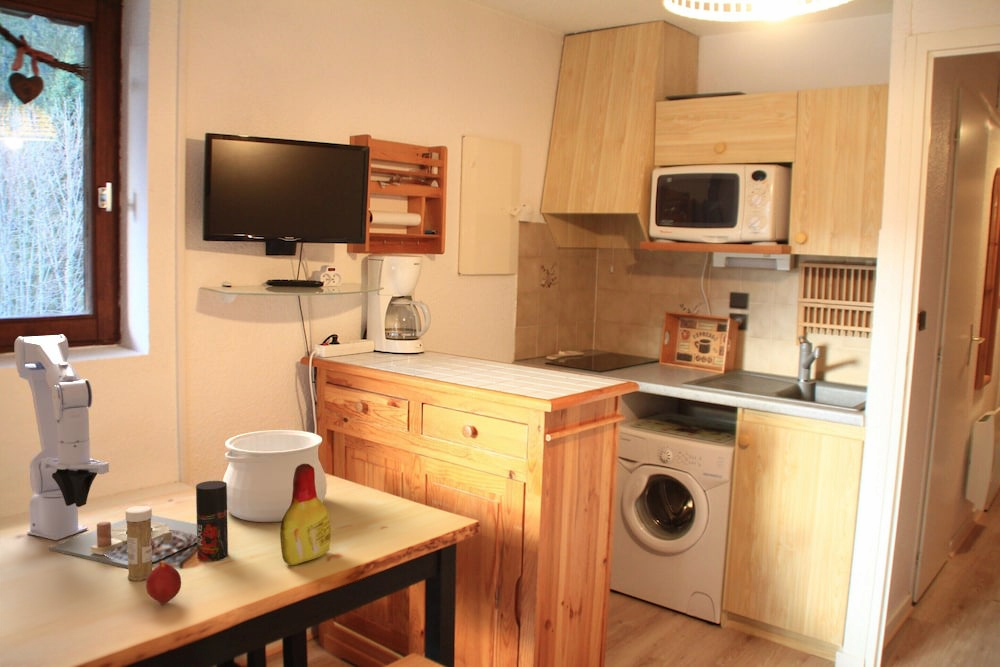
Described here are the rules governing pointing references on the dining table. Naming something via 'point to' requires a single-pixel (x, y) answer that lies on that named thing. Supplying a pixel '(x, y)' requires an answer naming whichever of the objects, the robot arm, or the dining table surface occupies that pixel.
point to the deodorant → (212, 521)
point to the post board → (84, 542)
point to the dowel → (167, 536)
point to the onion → (163, 583)
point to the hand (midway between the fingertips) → (76, 504)
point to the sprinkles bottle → (139, 542)
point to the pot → (269, 472)
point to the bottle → (304, 521)
